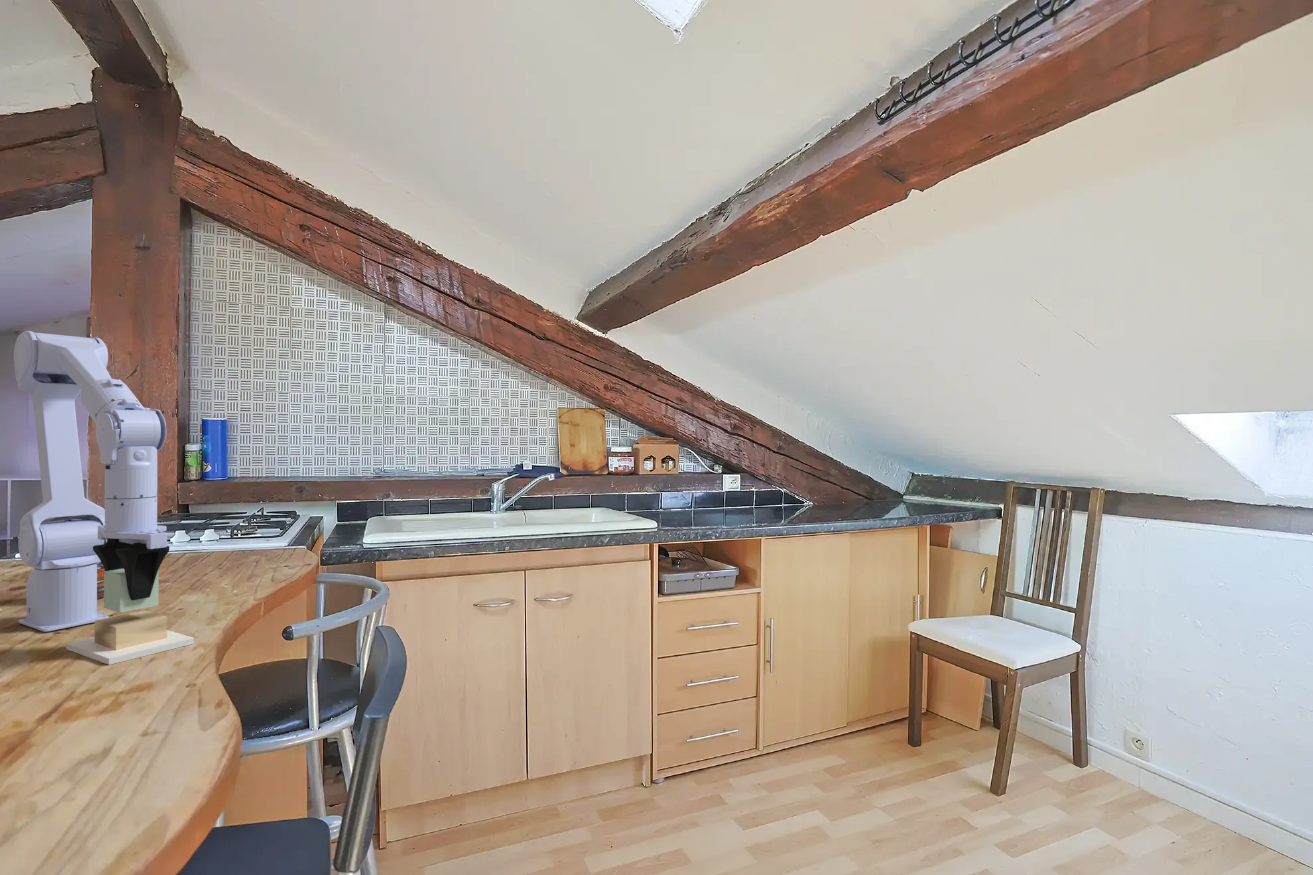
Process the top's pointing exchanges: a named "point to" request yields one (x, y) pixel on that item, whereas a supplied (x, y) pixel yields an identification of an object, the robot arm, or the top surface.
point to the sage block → (125, 593)
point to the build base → (130, 651)
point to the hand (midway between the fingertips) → (131, 596)
